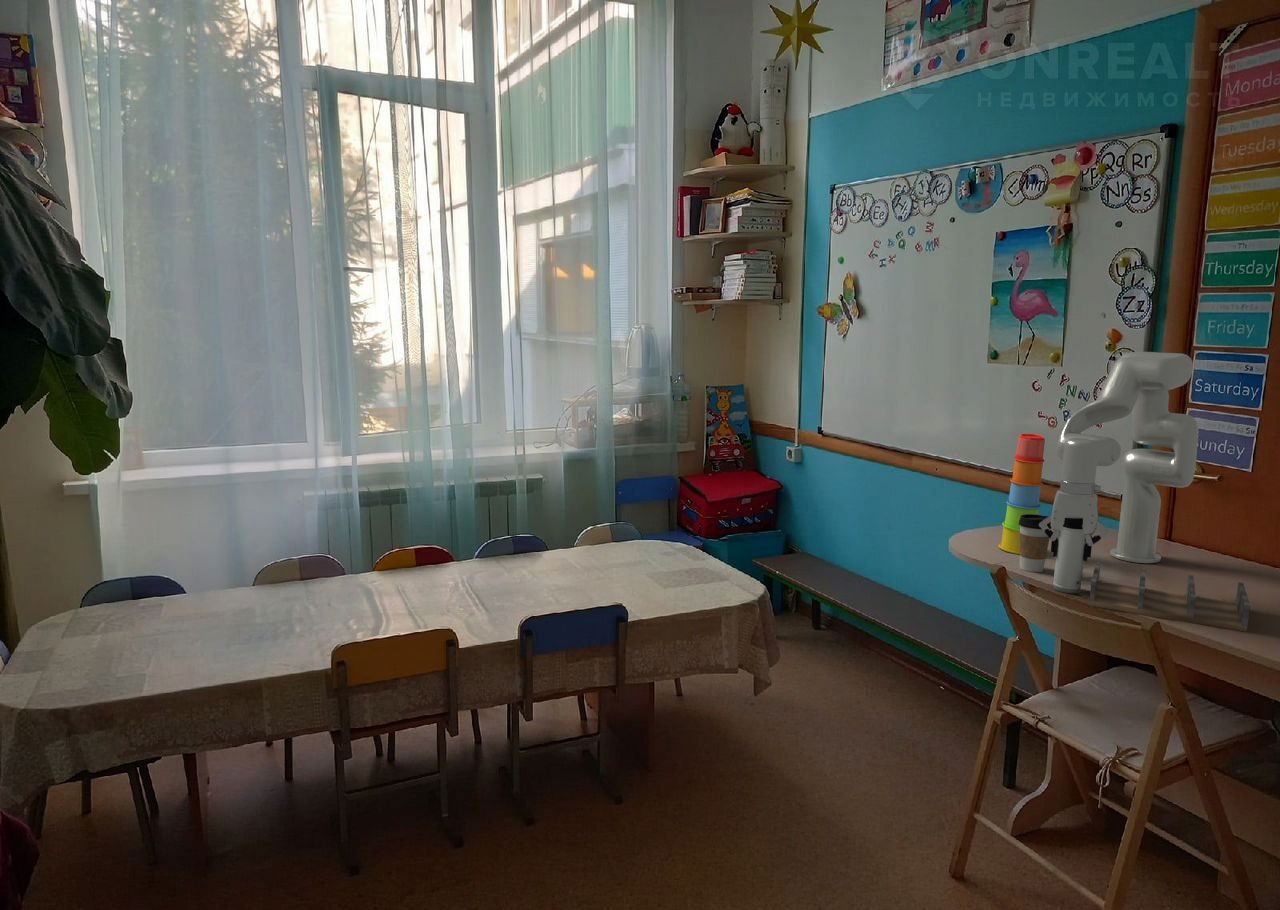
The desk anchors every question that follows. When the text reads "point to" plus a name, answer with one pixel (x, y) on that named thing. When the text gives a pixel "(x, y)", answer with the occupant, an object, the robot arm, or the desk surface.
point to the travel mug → (1070, 557)
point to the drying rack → (1171, 603)
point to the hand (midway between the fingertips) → (1070, 556)
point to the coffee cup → (1032, 542)
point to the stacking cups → (1023, 488)
